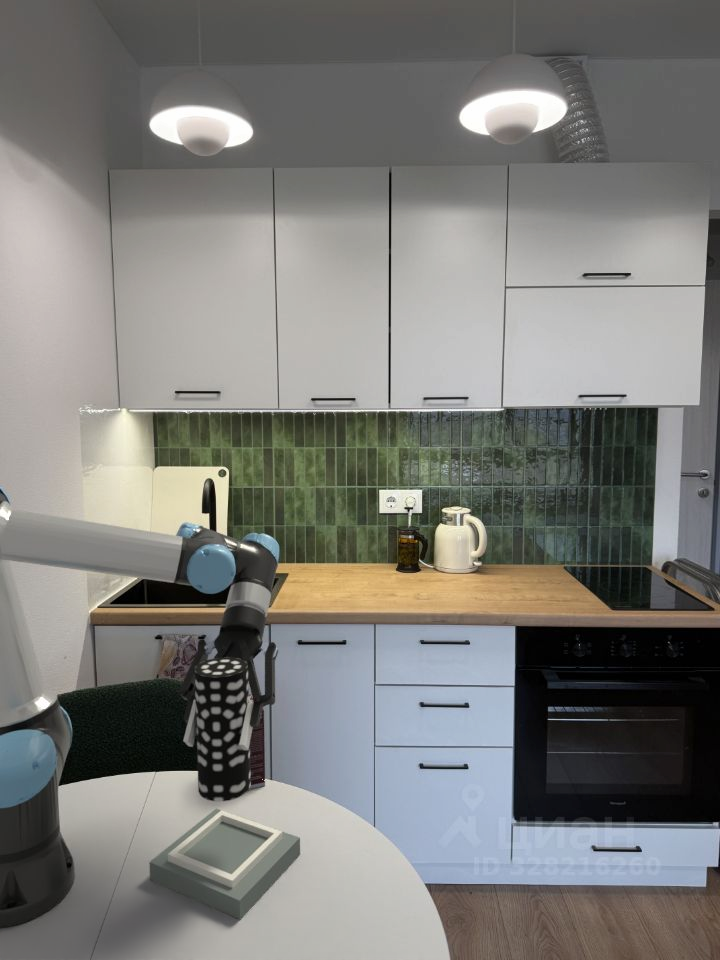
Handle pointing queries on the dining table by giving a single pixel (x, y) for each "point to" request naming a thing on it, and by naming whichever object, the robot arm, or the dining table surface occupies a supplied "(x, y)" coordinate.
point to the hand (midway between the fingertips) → (215, 745)
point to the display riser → (225, 862)
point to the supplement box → (257, 753)
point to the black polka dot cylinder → (221, 728)
